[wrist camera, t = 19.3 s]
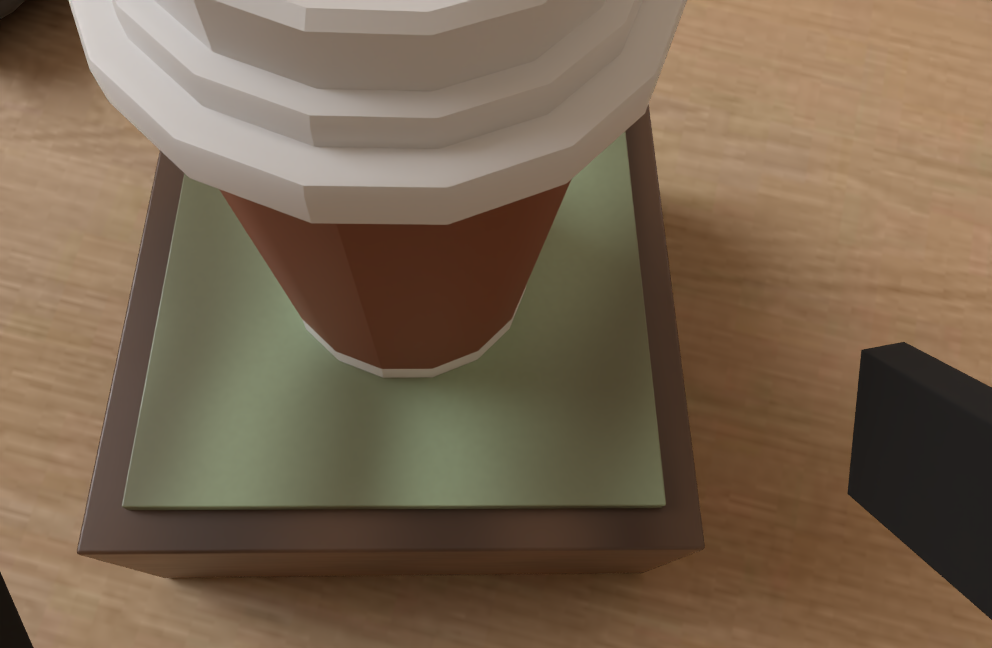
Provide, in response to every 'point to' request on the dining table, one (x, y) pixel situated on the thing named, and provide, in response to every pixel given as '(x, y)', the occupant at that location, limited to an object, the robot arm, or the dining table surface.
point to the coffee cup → (386, 143)
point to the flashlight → (9, 6)
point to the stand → (399, 412)
